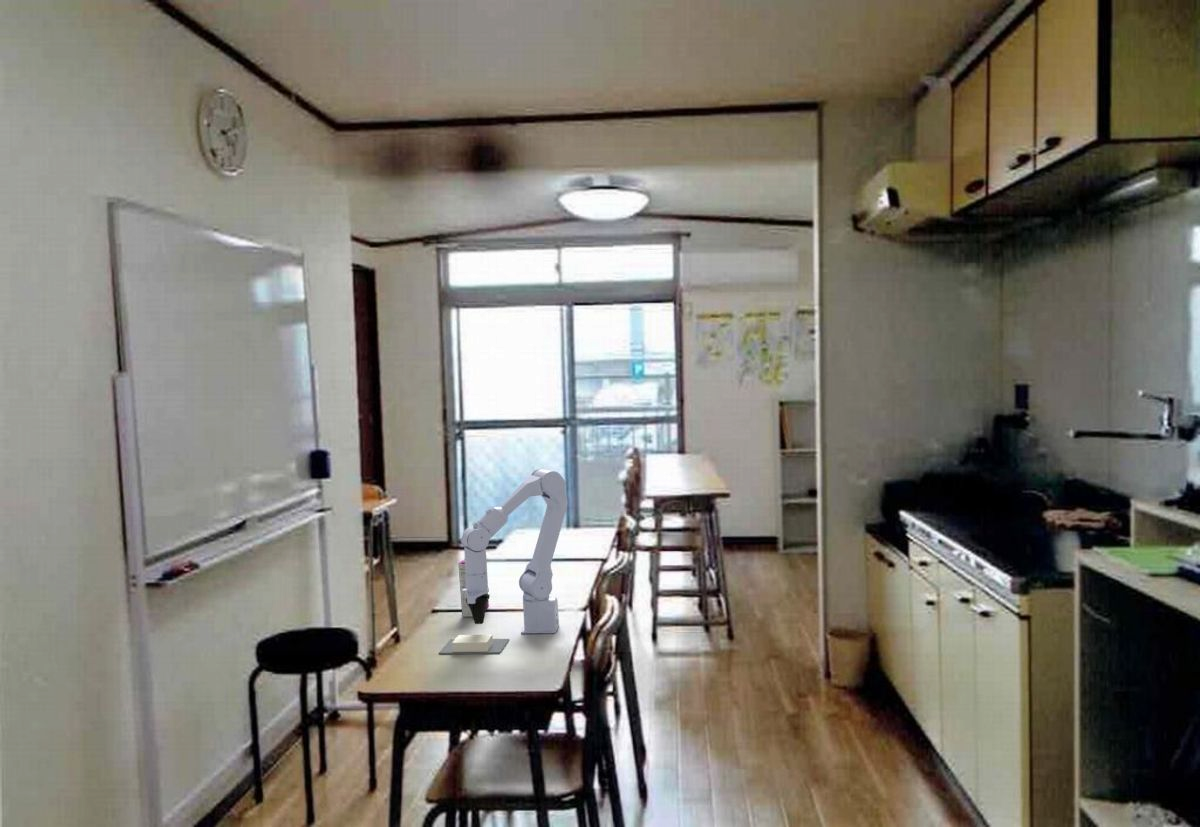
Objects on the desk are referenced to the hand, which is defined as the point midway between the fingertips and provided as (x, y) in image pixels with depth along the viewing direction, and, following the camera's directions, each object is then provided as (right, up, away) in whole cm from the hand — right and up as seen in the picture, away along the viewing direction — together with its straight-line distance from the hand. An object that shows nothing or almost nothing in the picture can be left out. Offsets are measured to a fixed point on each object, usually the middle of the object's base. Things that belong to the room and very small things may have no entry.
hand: (479, 623), depth 234 cm
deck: (0, -3, -4) cm, 5 cm away
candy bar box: (-5, -4, +28) cm, 29 cm away
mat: (0, -5, -5) cm, 7 cm away
